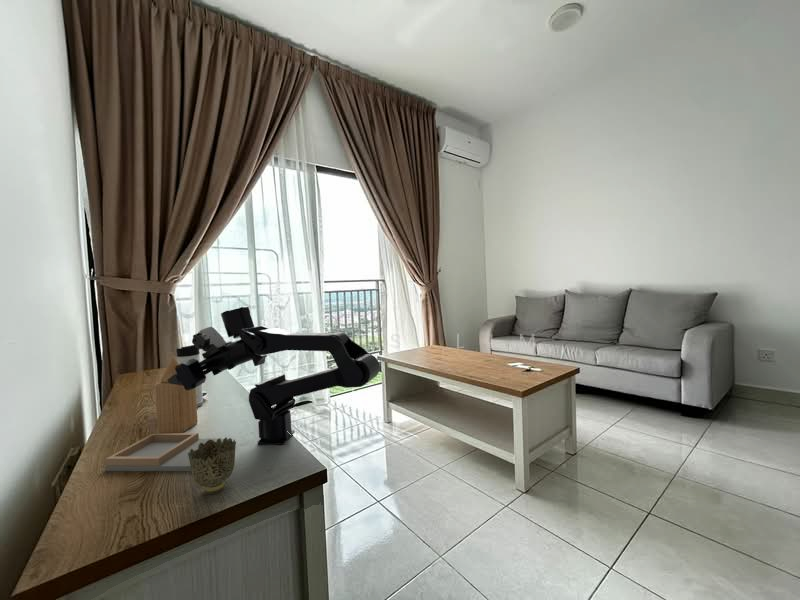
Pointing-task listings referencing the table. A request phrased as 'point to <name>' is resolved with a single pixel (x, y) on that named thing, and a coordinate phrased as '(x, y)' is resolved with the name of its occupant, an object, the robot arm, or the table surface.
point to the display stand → (157, 453)
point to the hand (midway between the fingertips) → (182, 374)
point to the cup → (213, 464)
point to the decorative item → (174, 403)
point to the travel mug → (186, 355)
